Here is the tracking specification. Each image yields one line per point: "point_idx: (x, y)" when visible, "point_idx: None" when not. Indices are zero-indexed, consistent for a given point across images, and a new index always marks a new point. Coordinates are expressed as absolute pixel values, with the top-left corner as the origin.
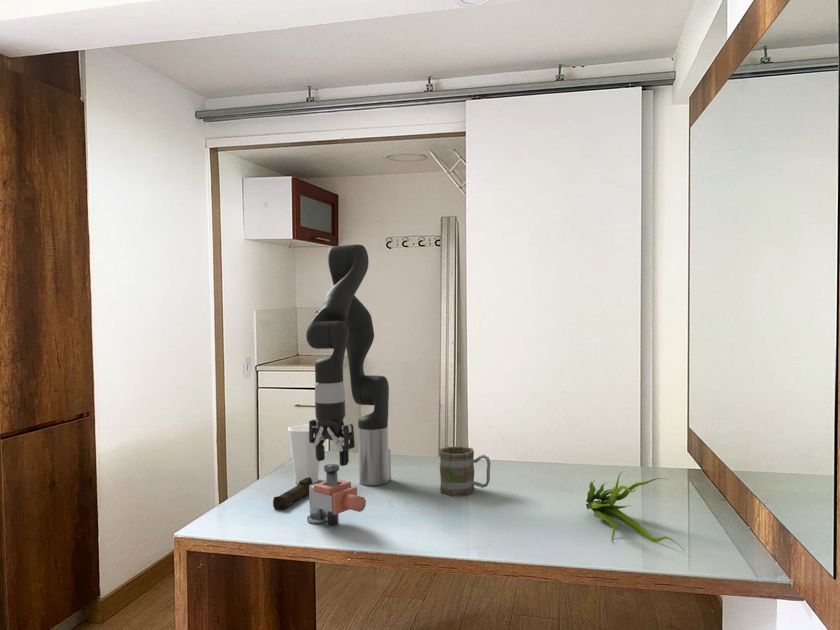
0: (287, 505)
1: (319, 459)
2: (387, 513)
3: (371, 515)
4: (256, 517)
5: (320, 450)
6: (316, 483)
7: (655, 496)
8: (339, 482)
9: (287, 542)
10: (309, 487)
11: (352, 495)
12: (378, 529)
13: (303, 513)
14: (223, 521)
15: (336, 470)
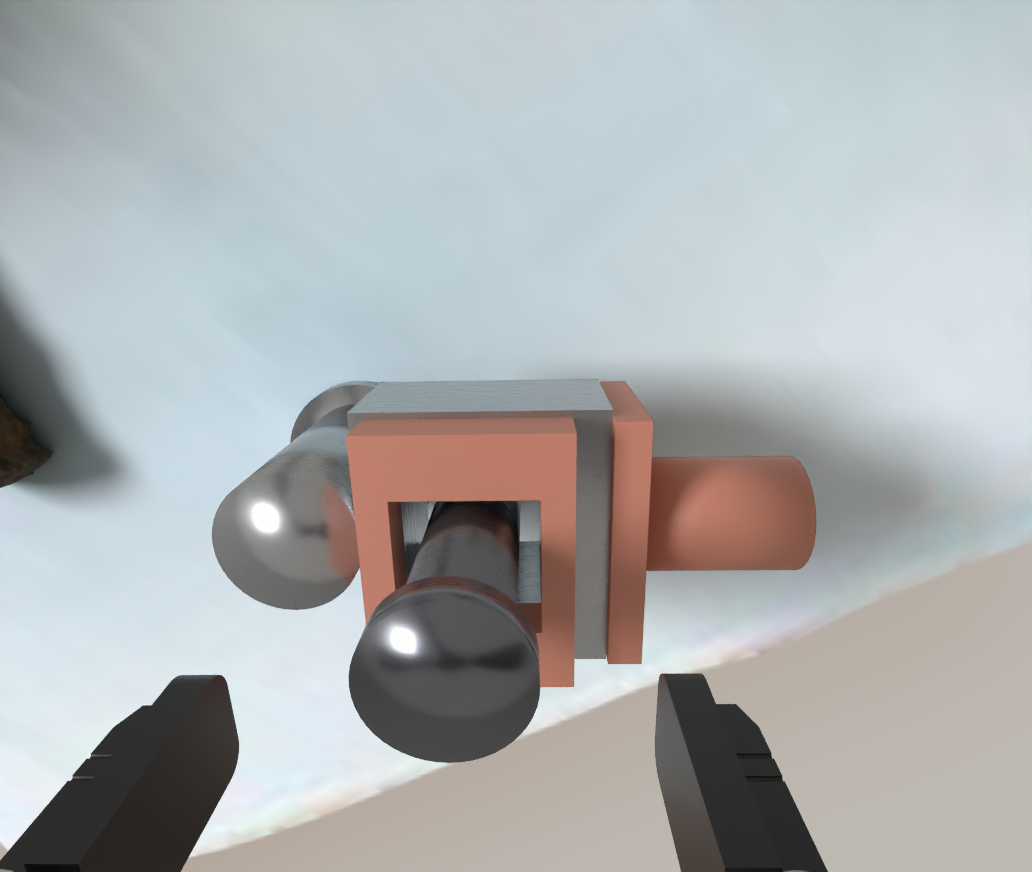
0: (9, 410)
1: (228, 761)
2: (635, 69)
3: (568, 180)
4: (71, 613)
5: (153, 867)
6: (220, 509)
7: None
8: (487, 500)
9: None
10: (264, 599)
11: (723, 543)
12: (776, 347)
13: (196, 424)
14: (17, 730)
15: (539, 665)
